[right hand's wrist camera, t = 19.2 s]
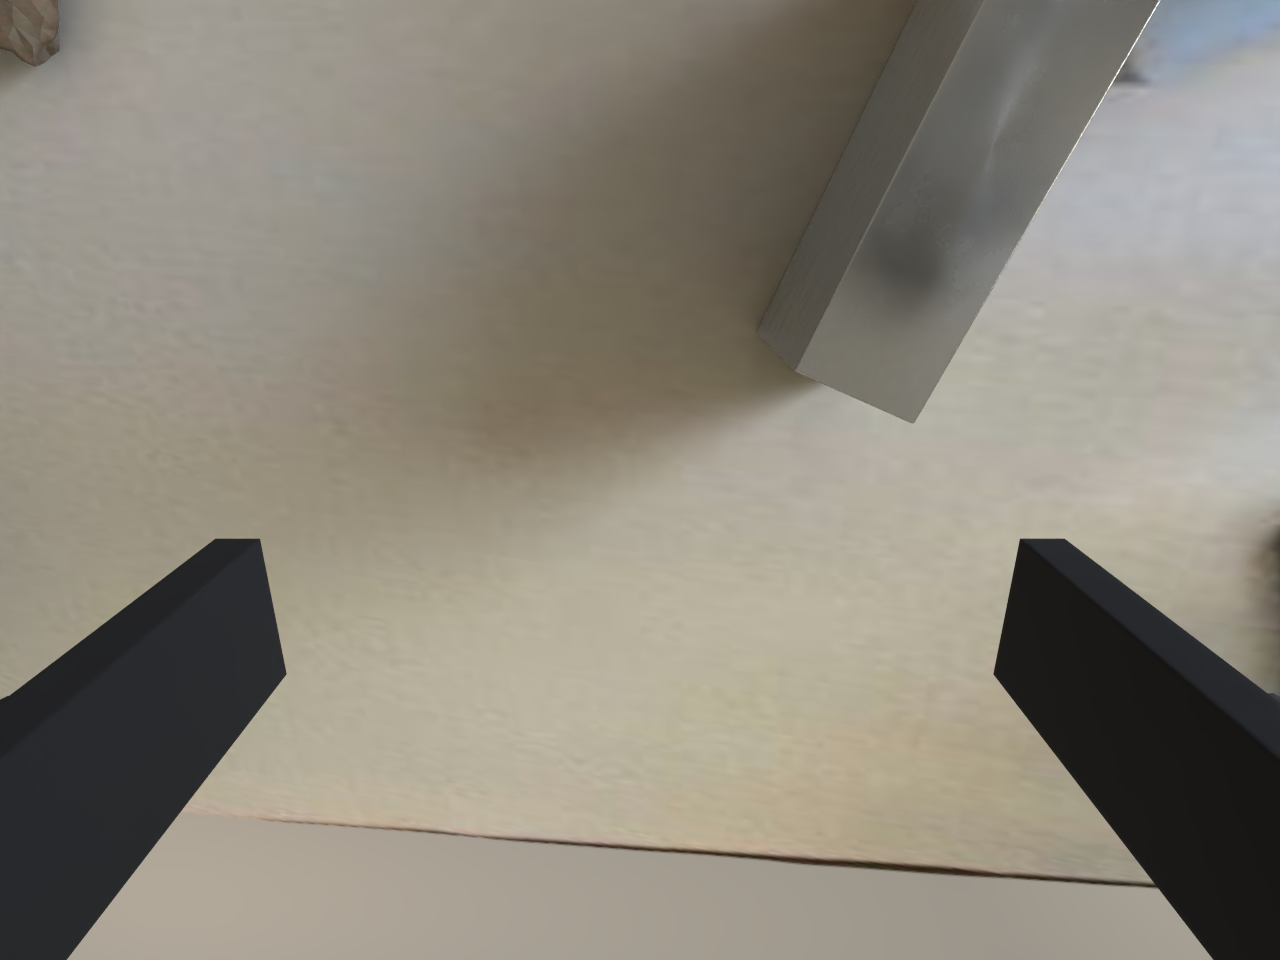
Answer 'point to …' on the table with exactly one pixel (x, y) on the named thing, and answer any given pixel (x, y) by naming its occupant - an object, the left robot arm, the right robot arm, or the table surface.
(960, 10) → the box
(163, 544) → the table surface
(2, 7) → the stone
